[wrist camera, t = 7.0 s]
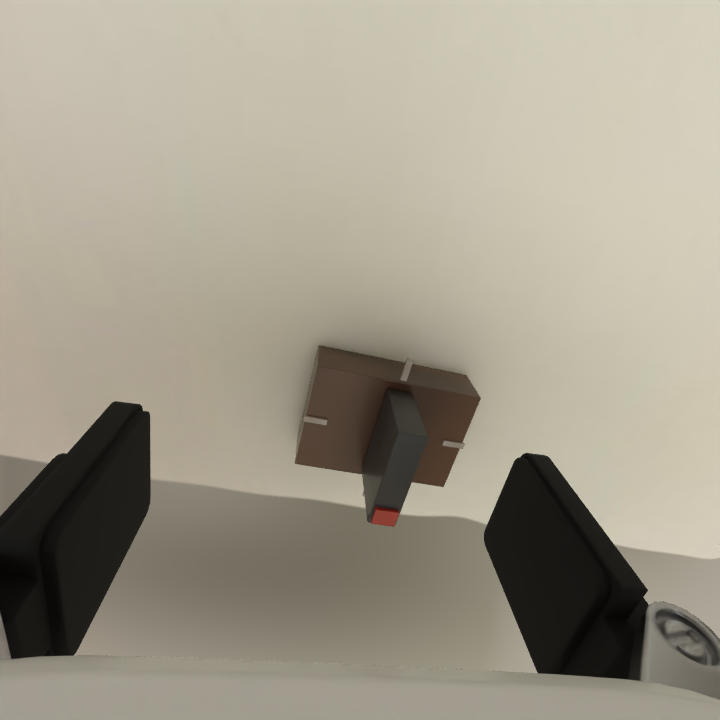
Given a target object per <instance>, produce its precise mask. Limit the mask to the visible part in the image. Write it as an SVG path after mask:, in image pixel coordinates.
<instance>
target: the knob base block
mask: <svg viewBox="0 0 720 720" xmlns="http://www.w3.org/2000/svg"><path fill="white" fill-rule="evenodd" d="M412 363H413V359H411V358H407V360H406V363H402V362H397V361H392V360H387V359H382V358H377V357H372V356H367V355H363V354H358V353H353V352H348V351H343V350H338V349H333V348H328V347H323V346H318V351H317V355H316V359H315V364H314V368H313V372H312V377H311V381H310V385H309V390H308V394H307V398H306V403H305V407H304V412H303V416H302V420H301V425H300V429H299V433H298V440H297V449H296V458H295V464H300V465H306V466H312V467H319V468H325V469H332V470H338V471H345V472H351V473H357V474H362V466H363V463H364V460H365V457H366V453H367V450H368V447H369V444H370V441H371V438H372V435H373V431H374V428H375V425H376V422H377V419H378V416H379V412H380V409H381V406H382V403H383V400H384V397H385V394H386V390H387V389H392V390H398V391H403V392H408V393H412V394H413V396H414V399H415V402H416V405H417V407H418V410H419V413H420V416H421V418H422V421H423V424H424V427H425V430H426V432H427V435H428V441H427V443H426V446H425V448H424V451H423V454H422V456H421V459H420V462H419V464H418V467H417V469H416V472H415V475H414V477H413V480H412V482H415V483H422V484H428V485H434V486H441V487H444V485H445V482H446V480H447V477H448V475H449V473H450V470H451V468H452V466H453V463H454V461H455V458H456V456H457V454H458V451H459V449H463V447H464V445H465V444H464V443H462V442H463V439H464V437H465V435H466V432H467V430H468V427H469V425H470V423H471V420H472V418H473V416H474V413H475V411H476V408H477V406H478V404H479V401H480V399H481V398H480V396H479V394H478V393H477V391H476V390H475V388H474V387H473V385H472V384H471V382H470V380H469V379H468V377H467V376H466V375H461V374H456V373H451V372H446V371H441V370H436V369H432V368H427V367H422V366H417V365H412ZM363 496H365V494H364V492H363Z"/></svg>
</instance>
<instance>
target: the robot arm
mask: <svg viewBox="0 0 720 720" xmlns="http://www.w3.org/2000/svg"><path fill="white" fill-rule="evenodd" d="M149 505H150V414H149V412H147V411H143V408H142V406H141V405H140V404H132V403H124V402H117V401H116V402H113V403H112V404H111V405H110V406H109V407H108V408H107V409H106V410H105V411H104V412H103V414H102V415H101V416H100V417H99V418H98V419H97V420H96V422H95V423H94V424H93V425H92V426H91V427H90V428H89V429H88V431H87V432H86V433H85V434H84V435H83V436H82V437H81V439H80V440H79V441H78V442H77V443H76V444H75V445H74V446H73V448H72V449H71V450H70V451H69V452H68V453H67V454H64V453H62V454H59V455H57V456H56V457H55V458H54V459H52V460H51V462H50V463H49V464H48V465H47V466H46V467H45V468H44V469H43V470H42V471H41V473H40V474H39V475H38V476H37V477H36V478H35V479H34V480H33V481H32V482H31V484H30V485H29V486H28V487H27V488H26V489H25V490H24V491H23V492H22V493H21V494H20V495H19V497H18V498H17V499H16V500H15V501H14V502H13V503H12V504H11V505H10V506H9V508H8V509H7V510H6V511H5V512H4V513H3V514H2V515H1V516H0V720H720V639H719V638H718V637H717V636H716V635H715V633H714V632H713V631H712V630H711V629H710V628H709V627H708V626H707V625H705V624H704V623H703V622H702V621H701V620H700V619H699V618H697V617H696V616H694V615H692V614H691V613H690V612H688V611H687V610H685V609H682V608H680V607H678V606H676V605H674V604H670V603H667V602H654V603H652V604H650V605H648V603H647V602H646V601H645V599H644V598H643V597H644V595H645V594H646V592H647V591H648V590H647V588H646V587H645V586H644V584H643V583H642V582H641V580H640V579H639V578H638V576H637V575H636V573H635V572H634V571H633V569H632V568H631V567H630V565H629V564H628V563H627V561H626V560H625V559H624V558H623V556H622V555H621V553H620V552H619V551H618V549H617V548H616V547H615V545H614V544H613V543H612V541H611V540H610V539H609V537H608V536H607V535H606V533H605V532H604V531H603V529H602V528H601V526H600V525H599V524H598V522H597V521H596V520H595V518H594V517H593V516H592V514H591V513H590V512H589V510H588V509H587V508H586V506H585V505H584V504H583V502H582V501H581V500H580V498H579V497H578V496H577V494H576V493H575V492H574V490H573V489H572V488H571V486H570V485H569V483H568V482H567V481H566V479H565V478H564V477H563V475H562V474H561V473H560V471H559V470H558V469H557V467H556V466H555V465H554V463H553V462H552V461H551V459H550V458H549V457H548V456H545V455H538V454H530V453H525V454H523V455H522V456H521V458H517V459H516V460H515V461H514V463H513V466H512V468H511V470H510V473H509V475H508V477H507V480H506V482H505V484H504V487H503V489H502V491H501V494H500V496H499V498H498V501H497V503H496V506H495V508H494V510H493V513H492V515H491V517H490V520H489V522H488V524H487V527H486V529H485V532H484V542H485V546H486V548H487V551H488V553H489V556H490V558H491V560H492V563H493V565H494V568H495V570H496V573H497V575H498V578H499V580H500V582H501V585H502V587H503V590H504V592H505V595H506V597H507V599H508V602H509V604H510V607H511V609H512V612H513V614H514V617H515V619H516V622H517V624H518V626H519V629H520V631H521V634H522V636H523V639H524V641H525V643H526V646H527V648H528V651H529V653H530V656H531V658H532V661H533V663H534V666H535V667H536V670H537V672H538V673H519V672H502V671H483V670H482V671H481V670H463V669H443V668H421V667H400V666H379V665H378V666H376V665H355V664H334V663H333V664H332V663H311V662H287V661H261V660H260V661H259V660H236V659H212V658H186V657H146V656H102V655H101V656H99V655H98V656H97V655H79V656H73V655H74V654H75V653H76V651H77V649H78V648H79V646H80V644H81V642H82V639H83V638H84V636H85V634H86V632H87V630H88V628H89V626H90V624H91V622H92V620H93V618H94V616H95V614H96V612H97V610H98V608H99V607H100V605H101V602H102V601H103V599H104V597H105V595H106V593H107V591H108V589H109V587H110V585H111V583H112V581H113V579H114V577H115V575H116V573H117V571H118V569H119V567H120V565H121V563H122V561H123V559H124V557H125V555H126V553H127V551H128V549H129V548H130V546H131V544H132V542H133V540H134V538H135V536H136V534H137V532H138V530H139V528H140V526H141V524H142V522H143V520H144V518H145V516H146V514H147V511H148V509H149Z"/></svg>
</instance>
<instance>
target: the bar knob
mask: <svg viewBox="0 0 720 720" xmlns="http://www.w3.org/2000/svg"><path fill="white" fill-rule="evenodd" d="M427 441H428V435H427V432H426V430H425V427H424V424H423V421H422V418H421V416H420V413H419V410H418V407H417V405H416V402H415V399H414V396H413V394H412V393H408V392H403V391H398V390H392V389H387V390H386V394H385V397H384V400H383V403H382V406H381V409H380V412H379V416H378V419H377V422H376V425H375V428H374V431H373V435H372V438H371V441H370V444H369V447H368V450H367V453H366V457H365V460H364V463H363V466H362V475H363V484H364V494H365V503H366V512H367V521H368V522H370V523H372V524H378V525H385V526H392V527H394V526H395V524H396V522H397V519H398V517H399V514H400V511H401V509H402V506H403V503H404V501H405V498H406V496H407V493H408V490H409V488H410V485H411V482H412V480H413V477H414V475H415V472H416V469H417V467H418V464H419V462H420V459H421V456H422V454H423V451H424V448H425V446H426V443H427Z"/></svg>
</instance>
